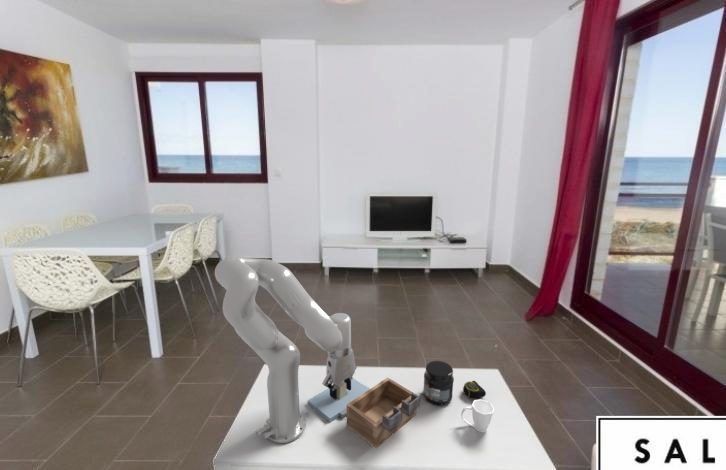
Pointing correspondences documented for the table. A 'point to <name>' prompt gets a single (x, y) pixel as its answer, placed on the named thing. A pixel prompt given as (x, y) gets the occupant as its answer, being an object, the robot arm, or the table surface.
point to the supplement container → (438, 383)
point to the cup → (480, 414)
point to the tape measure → (473, 390)
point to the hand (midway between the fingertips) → (340, 392)
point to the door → (337, 400)
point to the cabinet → (381, 411)
